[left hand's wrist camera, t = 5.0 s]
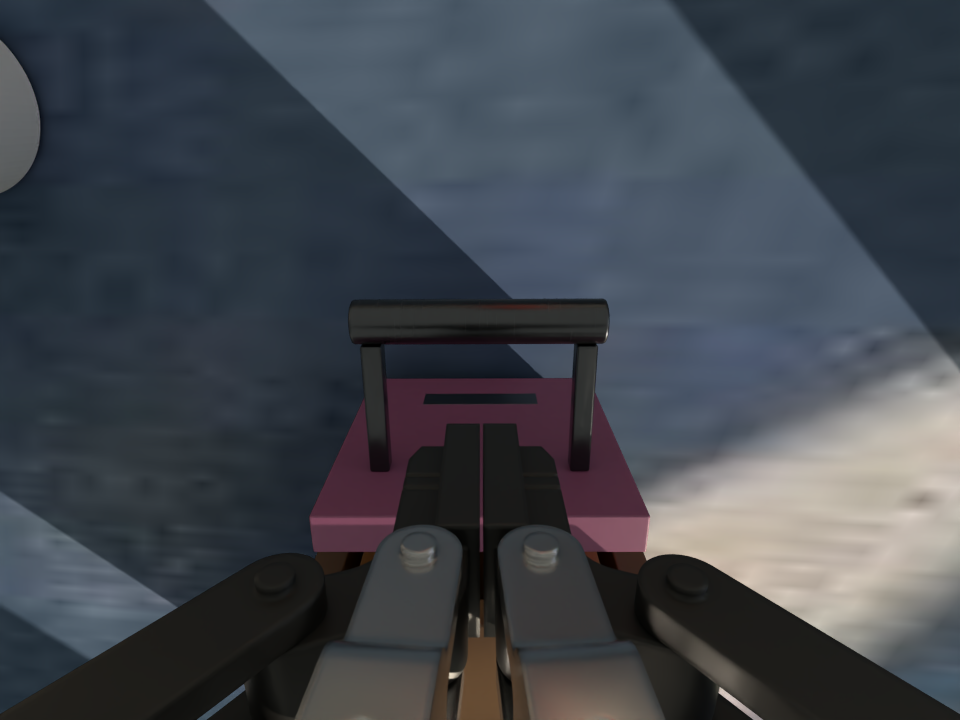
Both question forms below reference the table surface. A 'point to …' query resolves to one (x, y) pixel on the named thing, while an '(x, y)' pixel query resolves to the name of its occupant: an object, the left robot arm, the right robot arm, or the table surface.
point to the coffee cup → (16, 121)
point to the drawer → (479, 419)
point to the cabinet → (481, 663)
